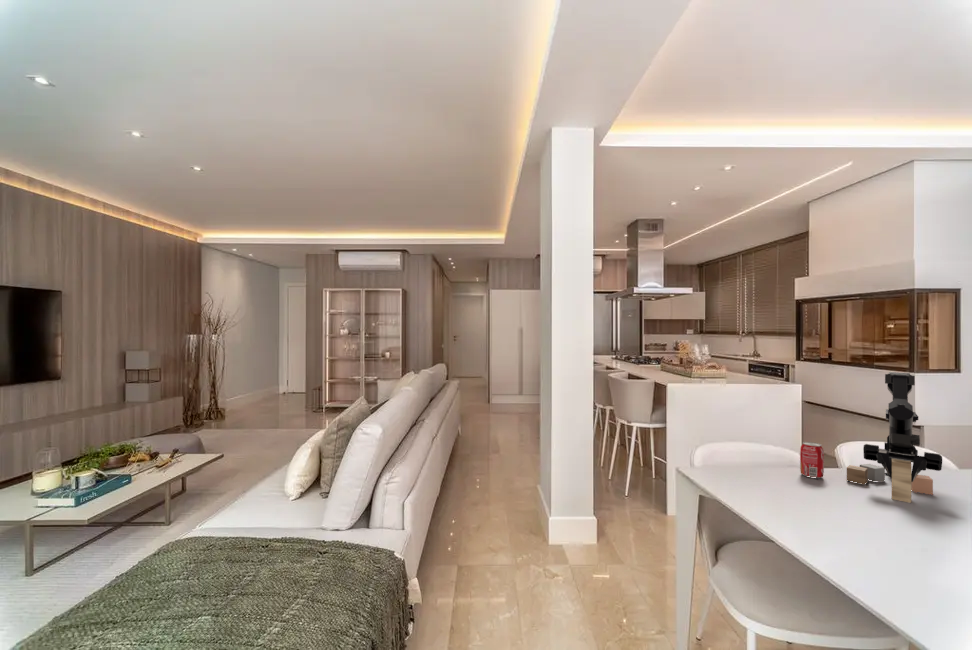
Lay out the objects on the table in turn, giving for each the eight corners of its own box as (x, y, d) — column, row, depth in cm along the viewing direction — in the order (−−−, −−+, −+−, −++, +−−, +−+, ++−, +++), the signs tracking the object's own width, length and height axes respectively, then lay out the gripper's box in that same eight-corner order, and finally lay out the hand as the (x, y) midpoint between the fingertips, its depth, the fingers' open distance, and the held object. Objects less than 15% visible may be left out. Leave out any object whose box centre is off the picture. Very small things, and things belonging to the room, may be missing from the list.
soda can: (815, 474, 167) (816, 441, 168) (828, 480, 160) (828, 446, 161) (795, 473, 168) (796, 441, 168) (807, 479, 161) (807, 445, 161)
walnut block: (849, 478, 163) (849, 465, 163) (867, 482, 159) (867, 468, 159) (846, 481, 159) (846, 467, 159) (864, 485, 156) (864, 471, 156)
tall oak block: (891, 495, 146) (891, 458, 146) (910, 499, 143) (910, 461, 143) (891, 499, 142) (891, 461, 143) (911, 502, 139) (911, 464, 140)
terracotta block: (908, 487, 154) (908, 473, 154) (928, 490, 151) (928, 476, 151) (912, 491, 150) (912, 477, 150) (932, 495, 147) (932, 479, 147)
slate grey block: (869, 477, 165) (869, 463, 165) (884, 481, 160) (884, 467, 160) (859, 478, 164) (859, 464, 164) (874, 482, 159) (874, 468, 159)
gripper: (863, 419, 152) (862, 458, 144) (941, 428, 140) (945, 471, 131) (864, 439, 158) (863, 477, 150) (939, 449, 145) (942, 491, 137)
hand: (901, 479), depth 142 cm, fingers closed on tall oak block, 4 cm apart
